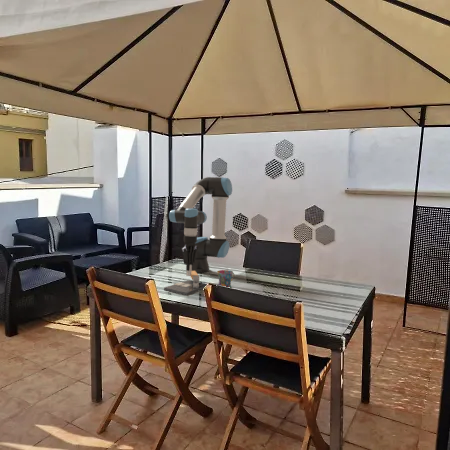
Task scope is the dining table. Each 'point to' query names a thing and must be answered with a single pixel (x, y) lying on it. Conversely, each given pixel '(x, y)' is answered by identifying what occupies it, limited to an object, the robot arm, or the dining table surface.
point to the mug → (225, 277)
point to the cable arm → (194, 276)
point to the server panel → (186, 287)
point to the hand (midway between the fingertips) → (188, 275)
